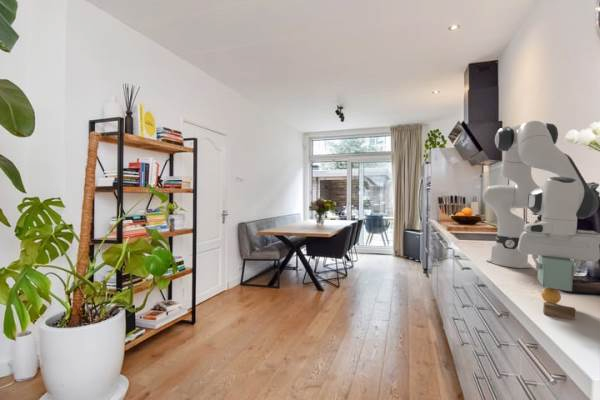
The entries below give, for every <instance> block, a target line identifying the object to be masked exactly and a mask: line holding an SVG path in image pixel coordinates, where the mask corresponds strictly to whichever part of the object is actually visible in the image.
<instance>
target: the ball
mask: <svg viewBox="0 0 600 400" xmlns="http://www.w3.org/2000/svg"><path fill="white" fill-rule="evenodd" d="M541 298H542V299H543V301H545V303H550V304H558V303H559V302H560V301H561V300H562V299H561V298H562V295H561V293H560V292H559V290H558V289H553V288H546V287H545V288H544V289H543V290H542V291H541Z"/></svg>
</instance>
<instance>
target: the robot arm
mask: <svg viewBox="0 0 600 400" xmlns="http://www.w3.org/2000/svg"><path fill="white" fill-rule="evenodd" d="M558 139H559V130H558V127H557V126H556V125H555V124H554V123H548V122H547V123H546V122H544V123H543V122H542V121H539V120H530V121H527V122H525V123H523V124H521V125H520V124H519V125H513V126H504V127H501V128H499V129H497V131H496V134H495V137H494V144H495V146H496V148H497V149H498V150H499V151H501V152H504V154H503V161H502V175H503V176H504V178H505V179H507V180H509V181H511V182H514V183H515V185H512V184H511V185H508V184H496V185H490V186H487V187H486V188H485V189H484V191H483V192H482V199H483V202H484V203H485V205H487V206H488V207H489V208H490V209H491V210H492V211H493V212H494V213H495V214H494V215H495V216H496V220H497V233H496V235H495V243H494V244H493V245H491V253H490V257H489V258H486V262H488V263H493V264H494V265H497V266H502V267H508V268H514V269H515V268H517V269H521V268H522V269H524V268H526V269H527V268H529V269H532V268H533V265H532V264H531V263H529V262H528V260H529V255H531V258H532V259H533V261H534V263H535V265H534V267H535V269H536V270H538V269H542V264H541V263H539V255H540V256H549V257H557V258H566V259H570V260H573V262H574V272H573V275H576V273H577V269H578V268H579V267H580V266H581V265H582V261H586V262H592V263H593V262H594V263H596V262H598V261H599V260H600V233H599V232H597V231H594V230H587V229H586V230H585V229H577V228H578V219H579V220H580V219H581V220H584V219H587V218H590V217H592V216H593V215H594V214H595V213H596V212H597V211H598V209H599V206H600V205H599V204H600V203H599V202H600V201H599V198H598V196H597V194H596V193H595V192H594V191H593V190H592V189H591V187H589V185H588V183H587V182H586V180H585V178H584V177H583V175H582V174H581V172H580V170H579V168H578V166H577V165H576V163H575V162H574V160H573V159H572V158H571V156H570V155H569V154H567V153H564V152H563V151H562V150H561V149H559V147H557V145H556V144H557V141H558ZM532 168H534V169H536V170H537V169H538V170H543V171H547V172H551V173H552V174H554V175H555V174H556V175H557V176H552V177H548V178H547V179H546V180H545V183H544V184H543V185H541V186H540V185H538V184H537V183H536V181H535V180H534V179H533V175H532ZM511 209H525V210H528V209H529V210H530V211H531V213H533V214H535V215H537V216H541V219H540V221H534V222H529V223H526V221H525V220H524V218H522V217H521V216H519V215H516V214H515V213H513V212H512V210H511ZM537 259H538V260H537Z"/></svg>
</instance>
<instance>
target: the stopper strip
mask: <svg viewBox="0 0 600 400" xmlns="http://www.w3.org/2000/svg"><path fill="white" fill-rule="evenodd" d="M542 309H543V310H542V312H543V315H545V316H551V317H557V318H560V319H566V320H573V321H576V313H577V312H576V311H577V309H576V308H575V307H572V306H567V305H561V304H557V303H555V304H551V303H548V302H543V308H542Z"/></svg>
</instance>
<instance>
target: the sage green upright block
mask: <svg viewBox="0 0 600 400" xmlns="http://www.w3.org/2000/svg"><path fill="white" fill-rule="evenodd" d="M538 263H541V264H542V269H537V277H536V279H537V280H538V282H539V283H540V285H541V286H542V288H545V289H546V288H553V289H556V290H558V291H559V290H561V291H566V292H567V291H568V292H573V283H574V274H573V272H574V264H575V262H574V260H573V259H566V258H557V257H549V256H540V255H538Z"/></svg>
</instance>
